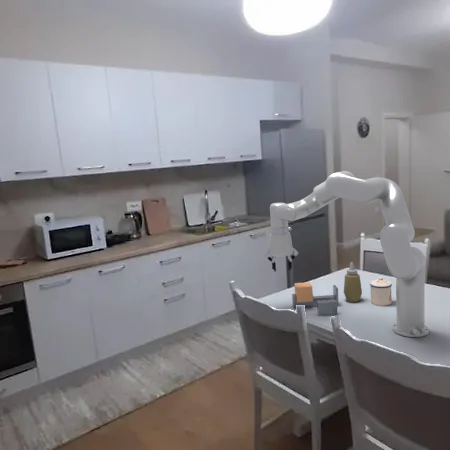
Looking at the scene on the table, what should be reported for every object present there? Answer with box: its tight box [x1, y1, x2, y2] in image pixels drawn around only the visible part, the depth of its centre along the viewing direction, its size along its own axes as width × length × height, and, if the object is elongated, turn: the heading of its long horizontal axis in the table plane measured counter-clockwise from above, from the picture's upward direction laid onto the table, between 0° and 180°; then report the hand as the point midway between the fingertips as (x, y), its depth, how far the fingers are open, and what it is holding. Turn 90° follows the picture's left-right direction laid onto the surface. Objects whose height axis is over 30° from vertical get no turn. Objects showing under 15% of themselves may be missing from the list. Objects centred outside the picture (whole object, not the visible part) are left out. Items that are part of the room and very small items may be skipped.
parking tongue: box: [316, 300, 338, 316], centre depth 176 cm, size 3×8×6 cm, turn 89°
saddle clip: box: [294, 281, 314, 302], centre depth 187 cm, size 6×7×7 cm
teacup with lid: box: [369, 276, 393, 307], centre depth 185 cm, size 12×9×12 cm
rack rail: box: [291, 284, 340, 309], centre depth 189 cm, size 10×20×8 cm, turn 89°
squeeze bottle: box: [343, 261, 363, 303], centre depth 189 cm, size 8×8×18 cm
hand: (282, 269), depth 185 cm, fingers open, 5 cm apart
